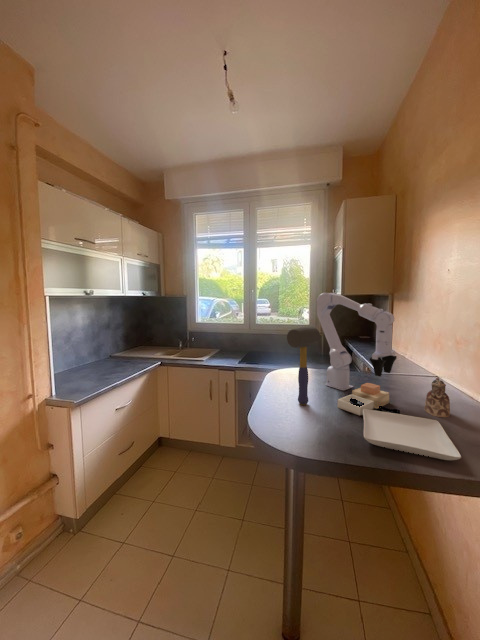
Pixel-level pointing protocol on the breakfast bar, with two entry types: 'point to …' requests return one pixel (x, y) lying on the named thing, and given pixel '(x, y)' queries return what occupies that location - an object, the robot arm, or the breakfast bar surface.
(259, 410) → the breakfast bar surface
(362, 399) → the tray
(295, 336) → the rubber mallet
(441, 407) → the figurine
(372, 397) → the beige bevelled block
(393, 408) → the breakfast bar surface
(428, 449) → the salad plate
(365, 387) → the terracotta-coloured block
